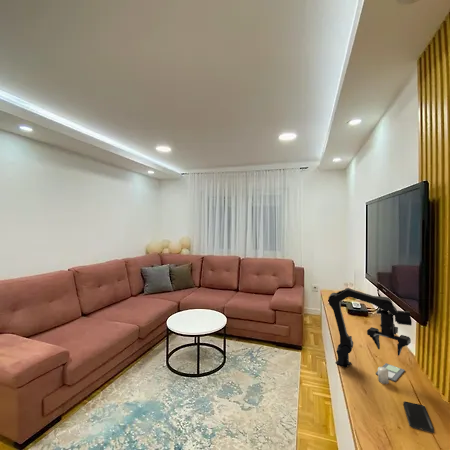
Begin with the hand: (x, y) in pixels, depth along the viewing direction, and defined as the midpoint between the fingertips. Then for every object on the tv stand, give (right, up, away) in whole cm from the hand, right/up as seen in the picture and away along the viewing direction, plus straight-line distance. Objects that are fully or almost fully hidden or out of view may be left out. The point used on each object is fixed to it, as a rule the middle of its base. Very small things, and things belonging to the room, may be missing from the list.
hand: (388, 352), depth 134 cm
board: (+1, -11, 0) cm, 11 cm away
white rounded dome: (-7, -11, -6) cm, 15 cm away
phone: (-8, -12, -30) cm, 33 cm away
